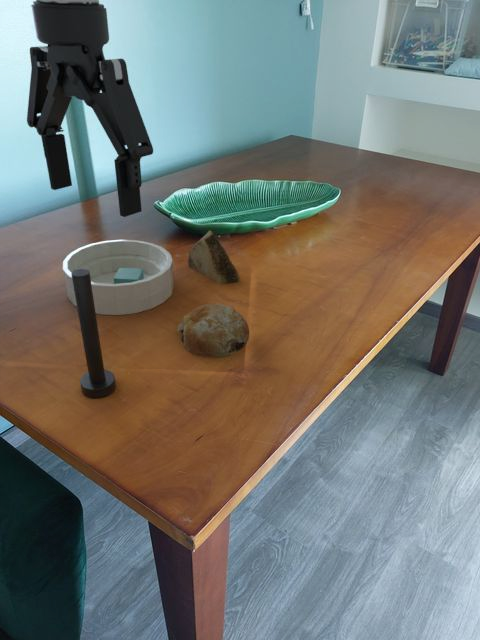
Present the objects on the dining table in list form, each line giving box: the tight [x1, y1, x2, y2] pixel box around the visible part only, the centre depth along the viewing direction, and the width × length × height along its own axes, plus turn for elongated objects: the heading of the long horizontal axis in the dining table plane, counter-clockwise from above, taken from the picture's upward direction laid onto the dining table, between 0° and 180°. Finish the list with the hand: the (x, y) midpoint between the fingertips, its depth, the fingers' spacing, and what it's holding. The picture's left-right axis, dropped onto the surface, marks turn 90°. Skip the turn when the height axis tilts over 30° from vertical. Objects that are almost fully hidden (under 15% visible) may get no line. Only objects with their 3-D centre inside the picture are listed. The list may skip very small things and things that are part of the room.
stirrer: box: [71, 269, 117, 399], centre depth 66 cm, size 4×4×17 cm
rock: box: [187, 230, 241, 285], centre depth 97 cm, size 11×9×10 cm
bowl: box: [62, 239, 175, 316], centre depth 91 cm, size 18×18×6 cm
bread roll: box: [177, 303, 250, 359], centre depth 79 cm, size 10×10×8 cm
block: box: [114, 268, 144, 284], centre depth 89 cm, size 4×4×4 cm
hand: (94, 200), depth 68 cm, fingers open, 13 cm apart
